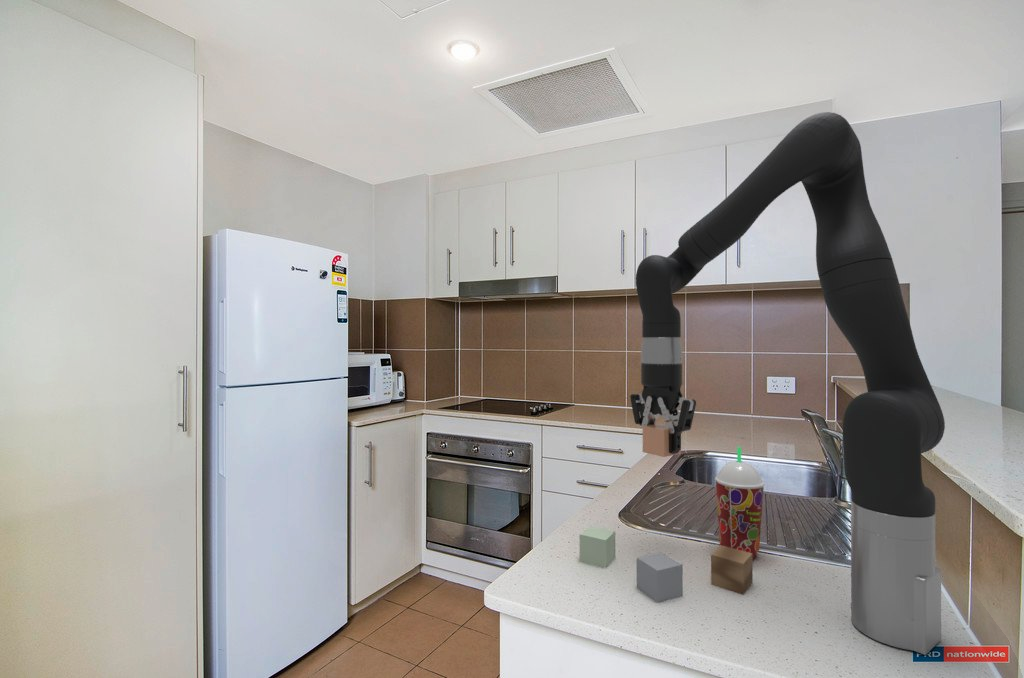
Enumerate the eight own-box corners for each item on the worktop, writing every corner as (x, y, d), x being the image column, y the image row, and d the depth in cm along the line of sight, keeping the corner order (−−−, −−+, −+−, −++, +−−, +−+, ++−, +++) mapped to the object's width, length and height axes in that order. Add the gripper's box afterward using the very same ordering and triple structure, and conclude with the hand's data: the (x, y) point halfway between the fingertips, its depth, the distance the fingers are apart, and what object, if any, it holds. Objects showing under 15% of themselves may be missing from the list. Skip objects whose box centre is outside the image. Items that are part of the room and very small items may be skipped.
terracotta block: (681, 453, 94) (681, 427, 94) (663, 457, 91) (663, 429, 91) (659, 448, 98) (659, 423, 98) (642, 452, 95) (642, 426, 95)
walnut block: (752, 583, 82) (752, 553, 82) (743, 595, 78) (743, 563, 78) (721, 574, 85) (721, 545, 85) (711, 585, 81) (711, 554, 81)
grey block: (682, 596, 78) (682, 564, 78) (657, 603, 75) (657, 570, 75) (661, 582, 82) (661, 552, 82) (636, 588, 80) (636, 557, 80)
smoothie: (758, 567, 87) (758, 454, 87) (709, 554, 92) (709, 447, 92) (767, 551, 94) (767, 446, 94) (721, 540, 99) (721, 440, 99)
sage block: (615, 557, 91) (615, 530, 91) (605, 568, 87) (605, 540, 87) (589, 551, 94) (590, 525, 94) (579, 561, 90) (579, 534, 90)
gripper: (706, 362, 91) (706, 455, 90) (645, 359, 102) (645, 441, 102) (680, 363, 86) (681, 460, 86) (619, 360, 98) (619, 446, 98)
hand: (661, 449), depth 94 cm, fingers closed on terracotta block, 5 cm apart
